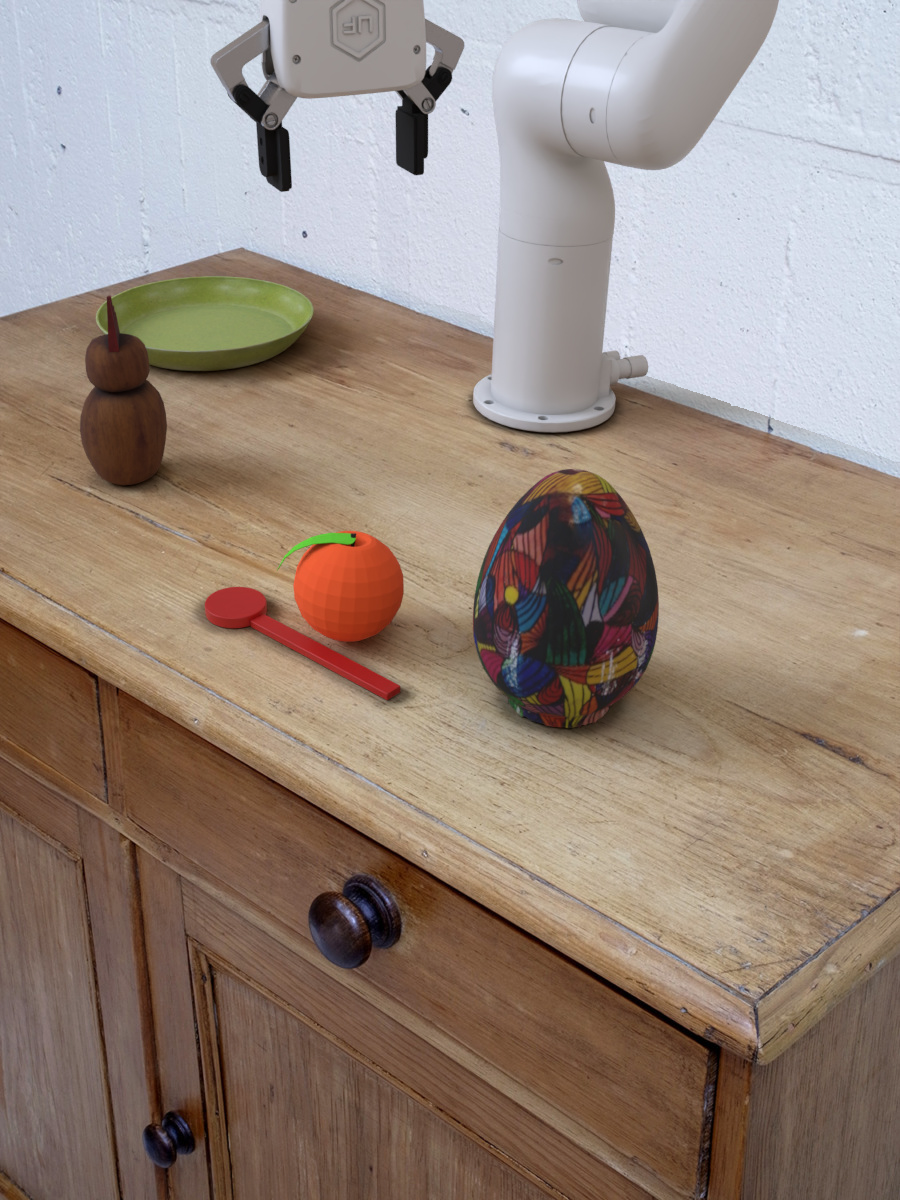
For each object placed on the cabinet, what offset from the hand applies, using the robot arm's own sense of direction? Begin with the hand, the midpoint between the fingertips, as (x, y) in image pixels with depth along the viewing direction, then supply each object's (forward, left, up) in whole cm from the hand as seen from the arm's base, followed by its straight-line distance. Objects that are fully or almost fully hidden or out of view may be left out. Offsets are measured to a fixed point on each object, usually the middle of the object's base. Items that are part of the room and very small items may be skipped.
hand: (345, 178), depth 89 cm
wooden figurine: (+15, -9, -24) cm, 30 cm away
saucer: (+1, -35, -24) cm, 42 cm away
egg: (-1, +31, -24) cm, 39 cm away
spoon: (+11, +19, -24) cm, 32 cm away
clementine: (+9, +19, -24) cm, 32 cm away
